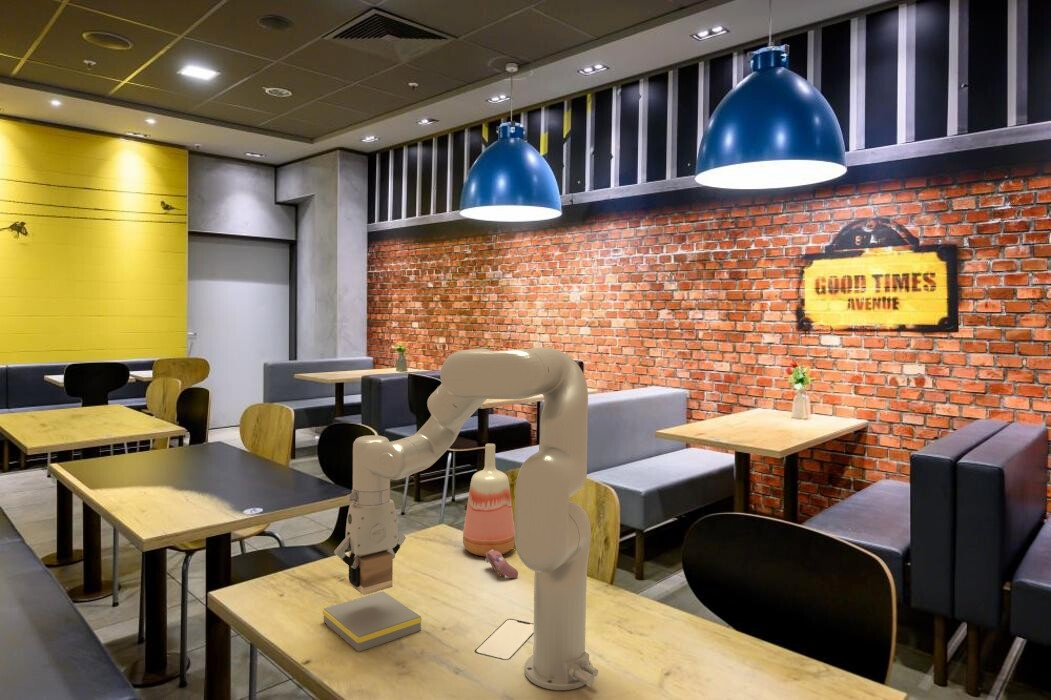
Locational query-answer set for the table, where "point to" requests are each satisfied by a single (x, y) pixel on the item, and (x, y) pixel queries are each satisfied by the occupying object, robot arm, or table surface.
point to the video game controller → (500, 564)
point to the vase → (489, 510)
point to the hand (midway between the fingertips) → (370, 579)
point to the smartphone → (506, 639)
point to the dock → (371, 620)
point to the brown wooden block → (375, 572)
